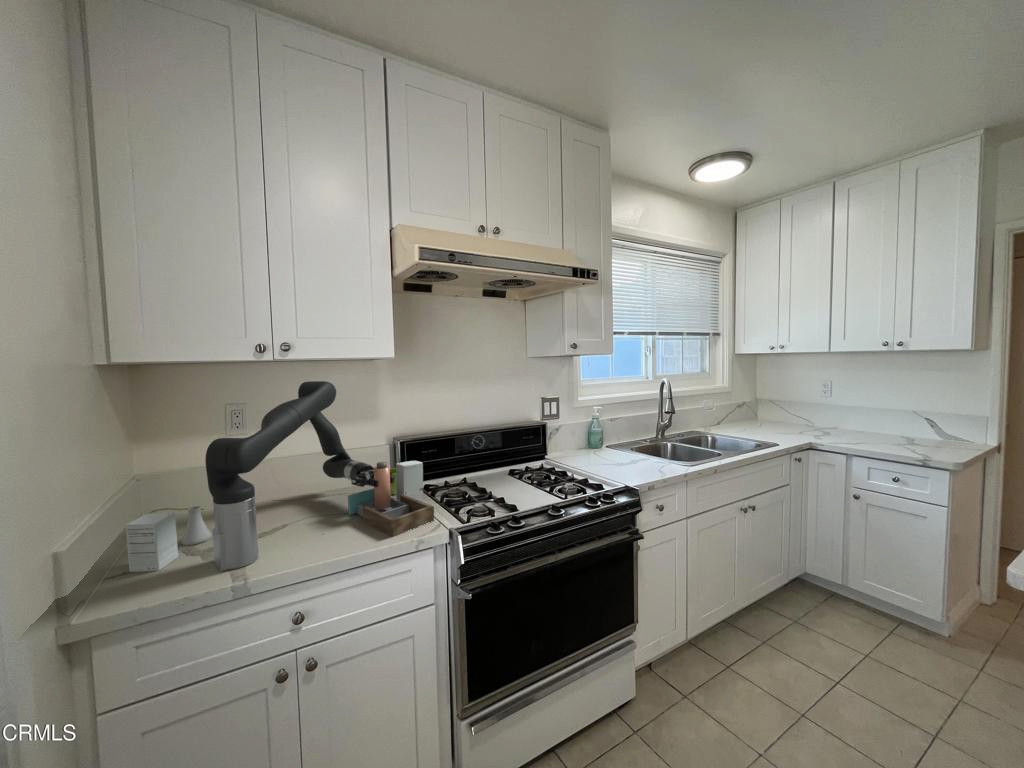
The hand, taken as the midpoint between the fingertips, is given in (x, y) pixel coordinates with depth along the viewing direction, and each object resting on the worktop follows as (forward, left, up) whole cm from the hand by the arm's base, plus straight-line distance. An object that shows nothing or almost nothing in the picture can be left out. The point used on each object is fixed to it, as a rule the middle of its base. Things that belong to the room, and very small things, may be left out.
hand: (384, 482), depth 142 cm
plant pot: (+14, +19, -12) cm, 26 cm away
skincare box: (+13, +5, -12) cm, 18 cm away
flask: (-47, +27, -12) cm, 55 cm away
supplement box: (-58, +18, -12) cm, 62 cm away
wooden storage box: (0, -8, -12) cm, 14 cm away
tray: (0, +3, -11) cm, 12 cm away
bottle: (0, +2, -9) cm, 9 cm away
